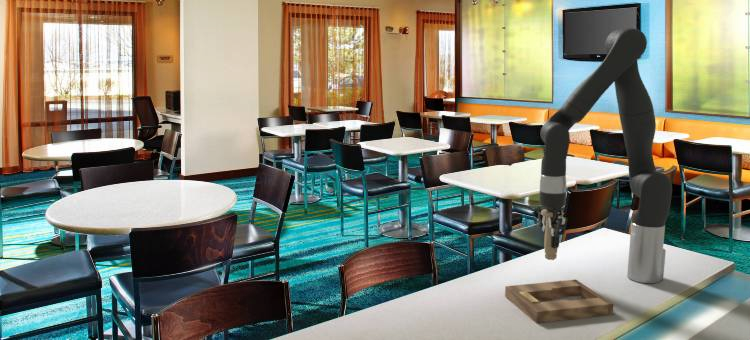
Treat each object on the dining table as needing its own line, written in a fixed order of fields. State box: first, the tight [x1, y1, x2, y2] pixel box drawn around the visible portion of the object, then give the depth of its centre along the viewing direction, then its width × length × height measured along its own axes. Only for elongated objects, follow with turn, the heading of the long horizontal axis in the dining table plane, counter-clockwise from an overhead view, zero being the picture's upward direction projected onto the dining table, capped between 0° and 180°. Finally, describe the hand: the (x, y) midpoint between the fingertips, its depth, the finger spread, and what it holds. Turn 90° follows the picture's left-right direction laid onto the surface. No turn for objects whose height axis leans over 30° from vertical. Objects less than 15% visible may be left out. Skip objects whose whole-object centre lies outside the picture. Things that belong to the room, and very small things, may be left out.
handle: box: [541, 209, 564, 261], centre depth 184 cm, size 5×6×15 cm
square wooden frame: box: [504, 279, 615, 324], centre depth 166 cm, size 22×18×3 cm
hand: (551, 245), depth 184 cm, fingers closed on handle, 4 cm apart
